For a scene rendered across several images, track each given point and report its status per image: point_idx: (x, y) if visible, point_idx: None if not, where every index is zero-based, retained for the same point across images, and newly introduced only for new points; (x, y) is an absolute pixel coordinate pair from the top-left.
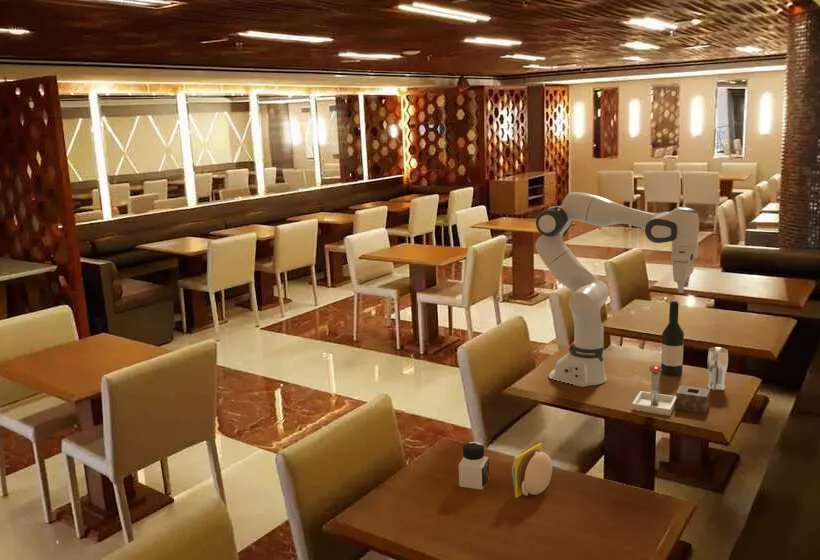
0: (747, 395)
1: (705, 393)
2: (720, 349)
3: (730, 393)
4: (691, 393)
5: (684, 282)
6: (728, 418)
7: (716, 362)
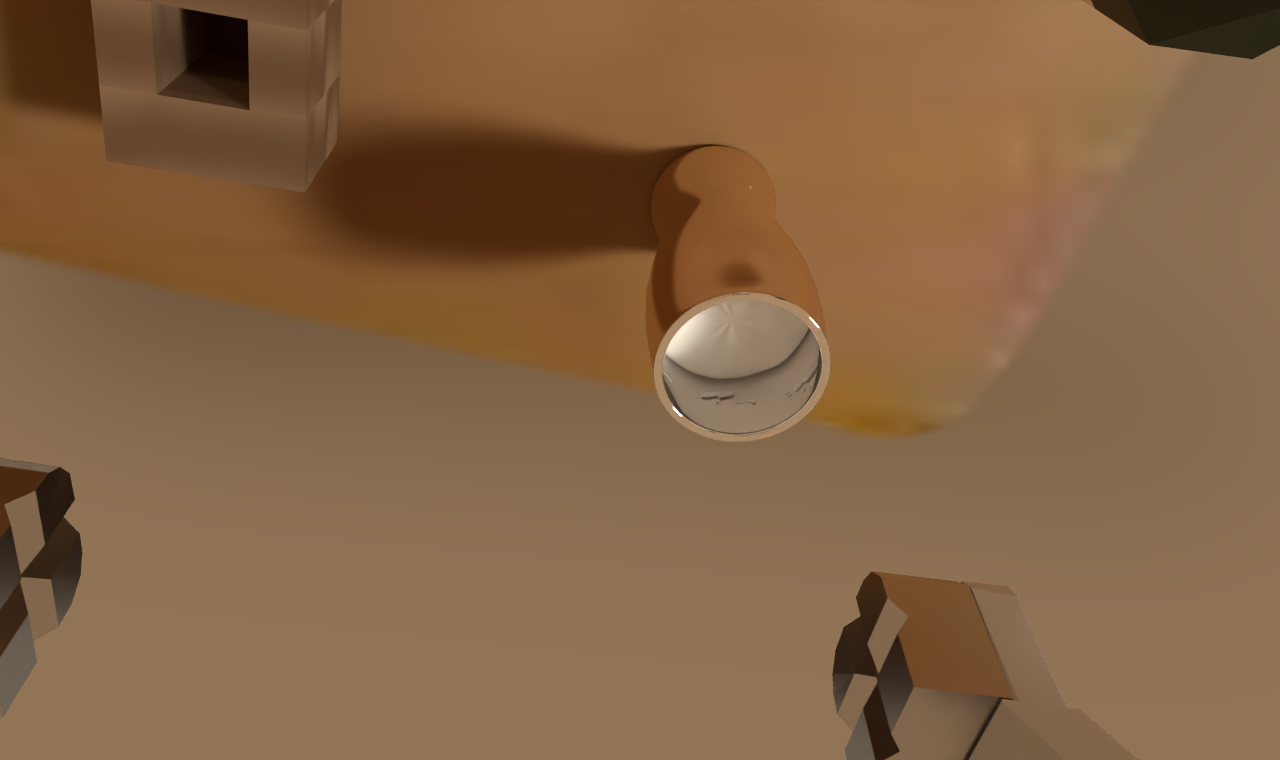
0: (608, 380)
1: (187, 154)
2: (817, 382)
3: (619, 287)
4: (129, 41)
5: (896, 728)
6: (143, 249)
7: (647, 306)
